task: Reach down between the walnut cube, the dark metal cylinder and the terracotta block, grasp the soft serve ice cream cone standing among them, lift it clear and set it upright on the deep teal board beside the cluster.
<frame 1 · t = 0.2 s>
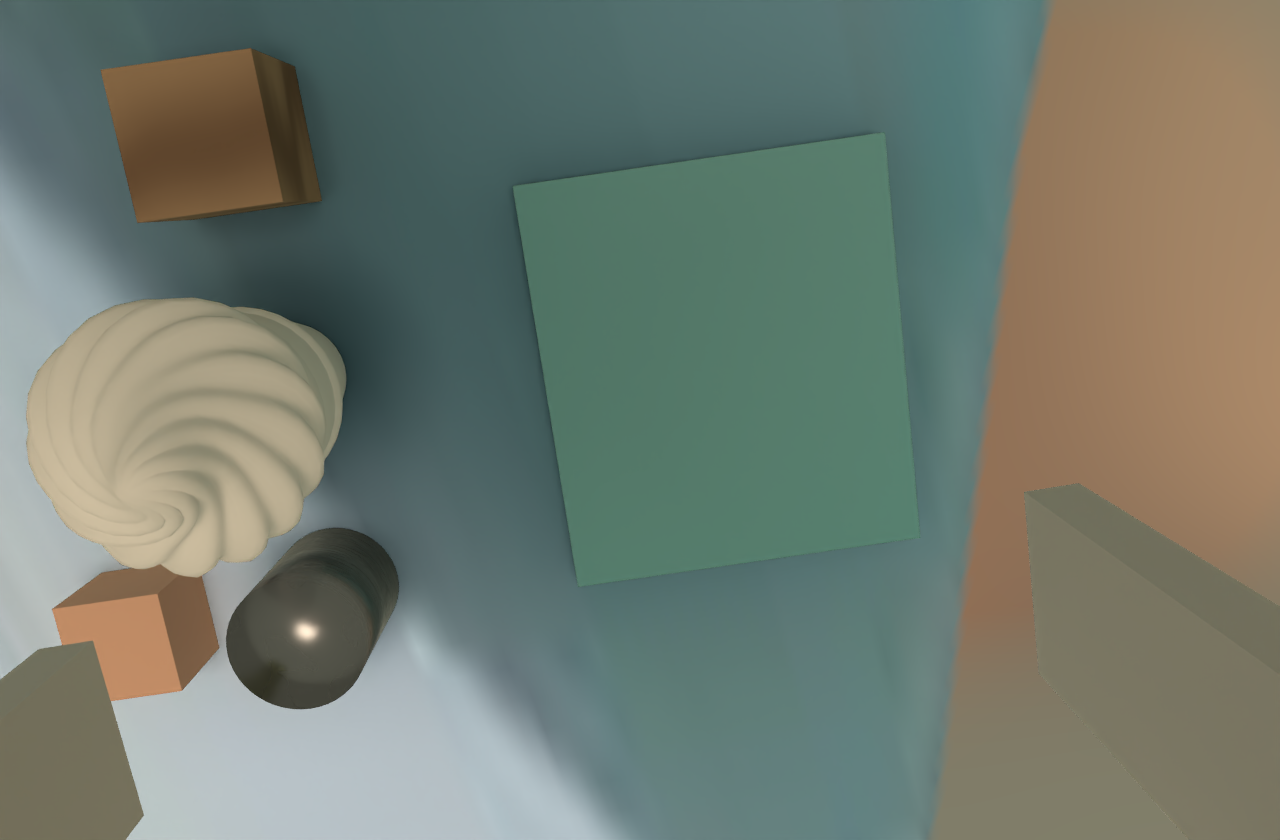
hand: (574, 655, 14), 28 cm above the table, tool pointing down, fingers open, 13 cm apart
soft serve ice cream cone: (294, 374, 42), on the table
teal board: (720, 363, 42), on the table
walnut cube: (244, 144, 40), on the table
dark metal cylinder: (338, 584, 43), on the table
terracotta block: (162, 609, 43), on the table
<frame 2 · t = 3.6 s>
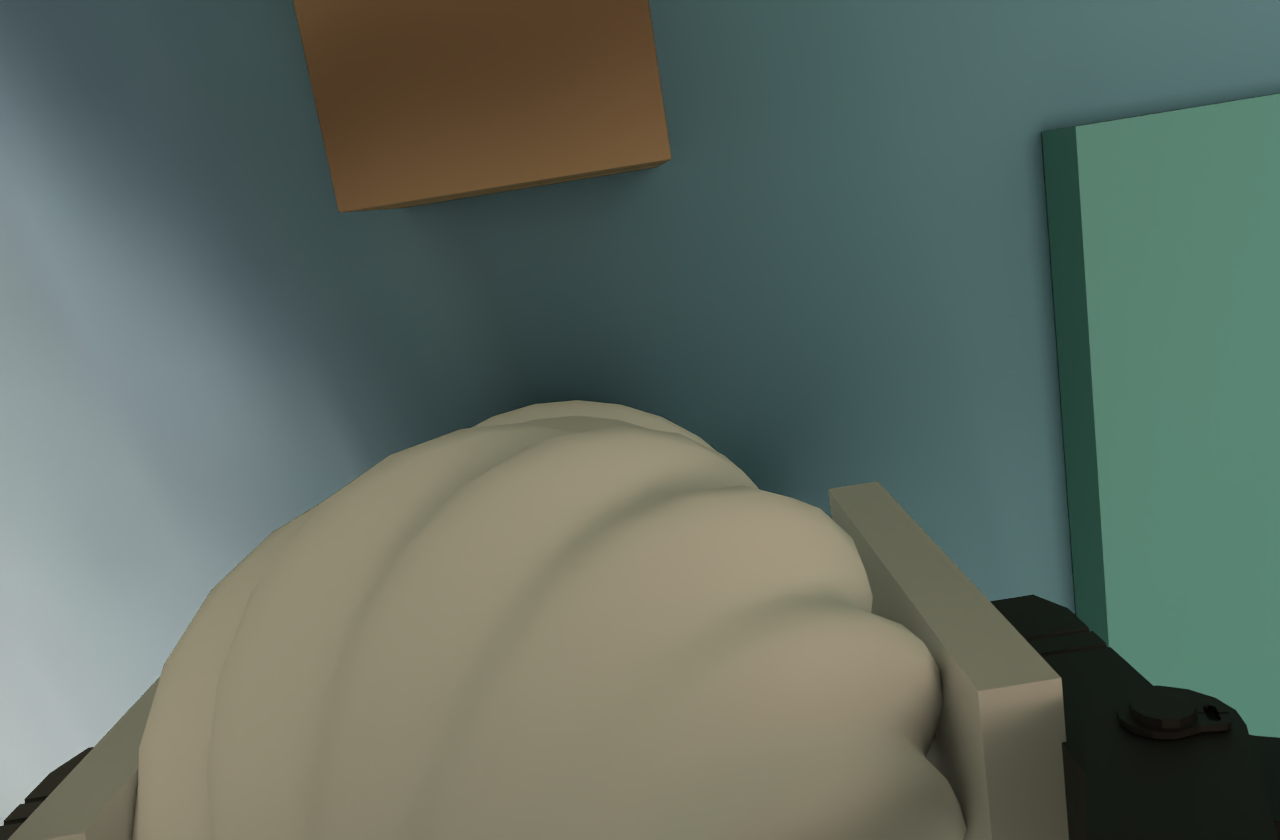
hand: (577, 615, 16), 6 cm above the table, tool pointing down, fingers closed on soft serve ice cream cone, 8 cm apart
soft serve ice cream cone: (586, 501, 22), on the table, touching gripper
walnut cube: (507, 54, 20), on the table
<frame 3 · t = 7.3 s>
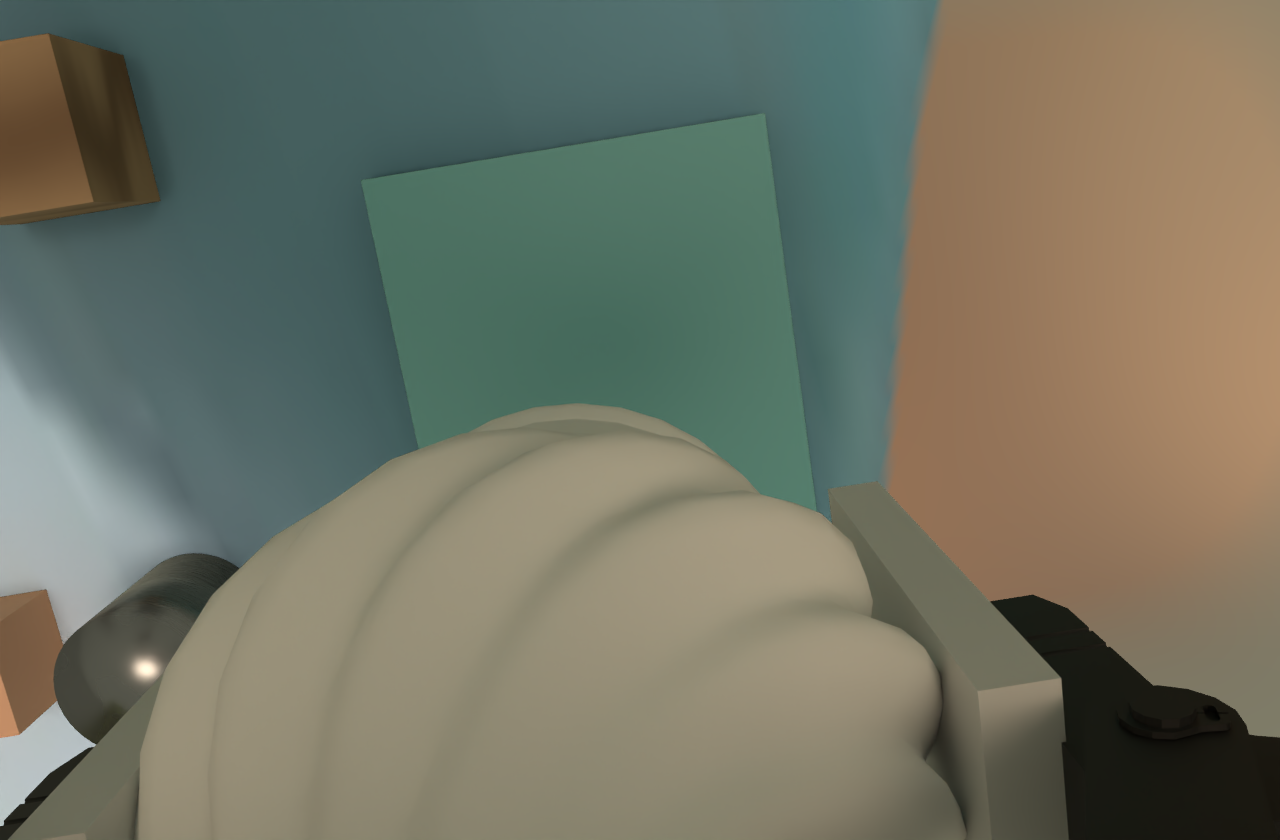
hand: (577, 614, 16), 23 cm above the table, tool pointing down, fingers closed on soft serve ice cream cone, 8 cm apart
soft serve ice cream cone: (586, 504, 22), point 17 cm above the table, touching gripper
teal board: (602, 367, 39), on the table
walnut cube: (73, 141, 36), on the table
dark metal cylinder: (200, 614, 40), on the table
terracotta block: (11, 644, 40), on the table
when the fingers open (8 cm above the table, at t = 11.0 s): soft serve ice cream cone stays where it is, resting on teal board.
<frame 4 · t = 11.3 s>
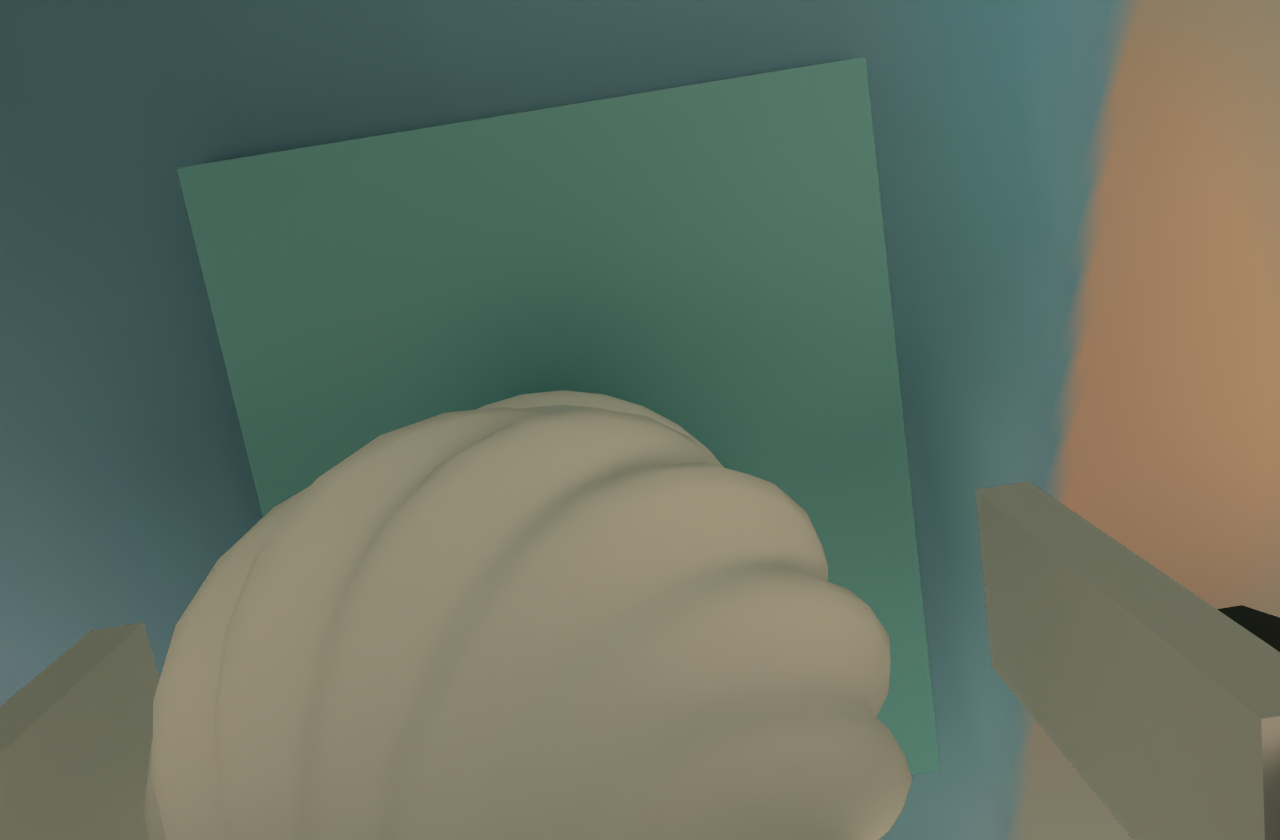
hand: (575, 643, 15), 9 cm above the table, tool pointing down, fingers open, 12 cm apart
soft serve ice cream cone: (578, 490, 23), point 1 cm above the table, touching teal board
teal board: (588, 473, 24), on the table
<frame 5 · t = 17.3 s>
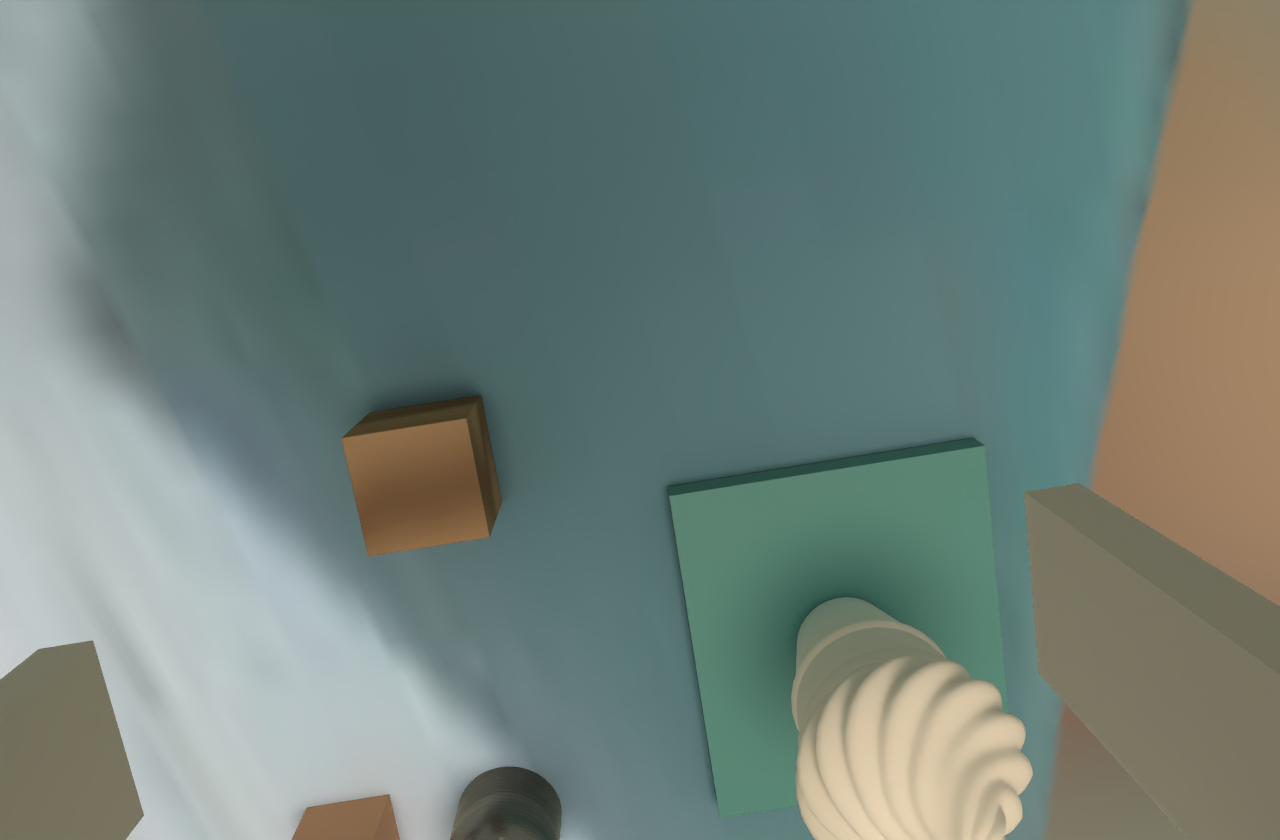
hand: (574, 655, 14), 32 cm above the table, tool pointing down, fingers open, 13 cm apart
soft serve ice cream cone: (842, 637, 47), point 1 cm above the table, touching teal board
teal board: (840, 625, 49), on the table
walnut cube: (436, 457, 46), on the table
dark metal cylinder: (509, 813, 50), on the table
terracotta block: (357, 836, 50), on the table
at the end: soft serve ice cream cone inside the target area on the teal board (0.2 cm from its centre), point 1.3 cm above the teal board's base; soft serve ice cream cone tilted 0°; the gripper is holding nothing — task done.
